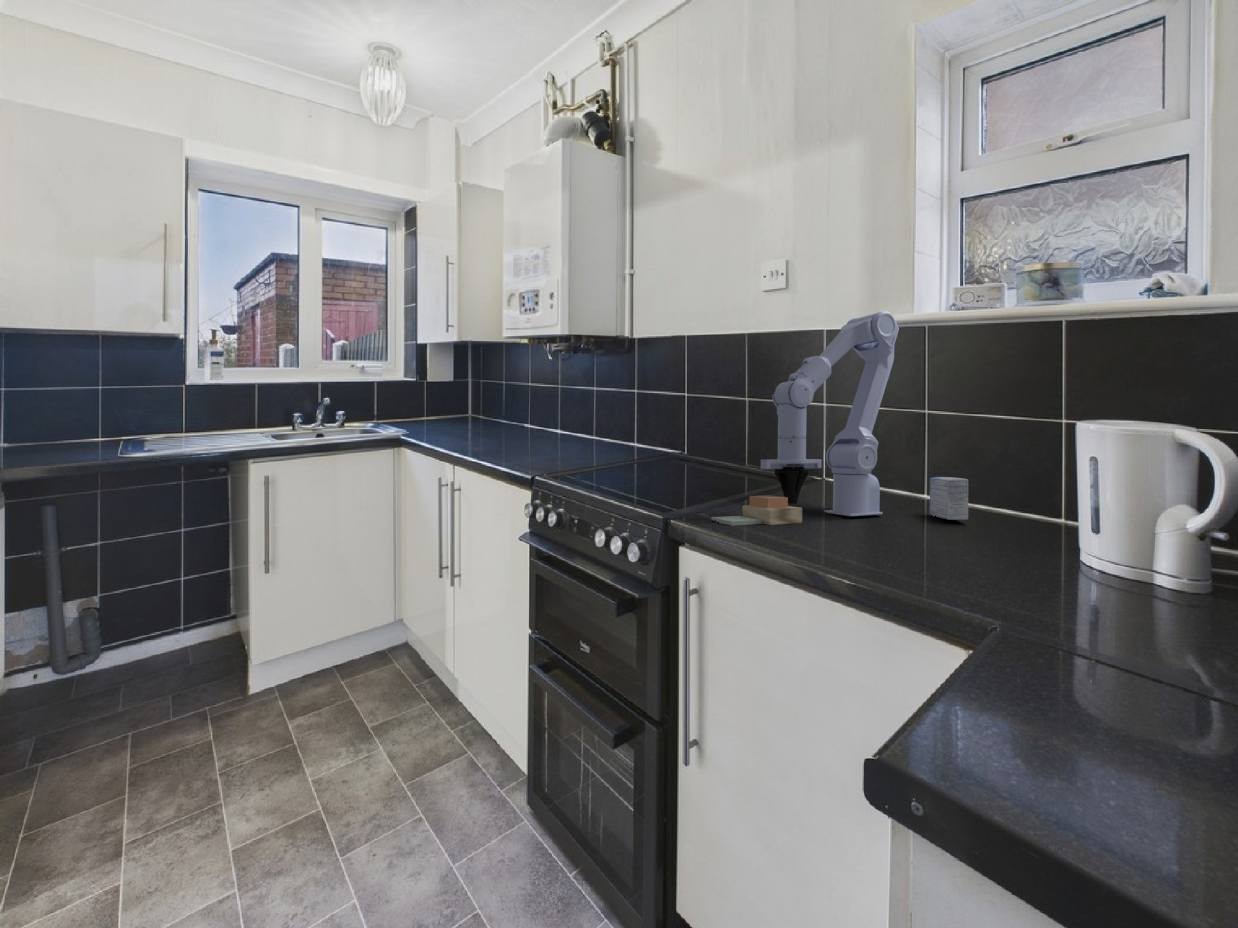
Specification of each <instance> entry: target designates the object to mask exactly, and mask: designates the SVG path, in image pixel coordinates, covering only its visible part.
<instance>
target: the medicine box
mask: <svg viewBox="0 0 1238 928" xmlns="http://www.w3.org/2000/svg"><path fill="white" fill-rule="evenodd" d="M930 514H931V515H932V516H931V515H930ZM929 515H930V516H931V517H935V516H936V518H940V519H945V520H949V521H950V520H952V521H955V520H956V521H968V520H969V479H967V478H961V477H951V476H949V477H947V476H946V477H945V476H935V477H930V479H929Z"/></svg>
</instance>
